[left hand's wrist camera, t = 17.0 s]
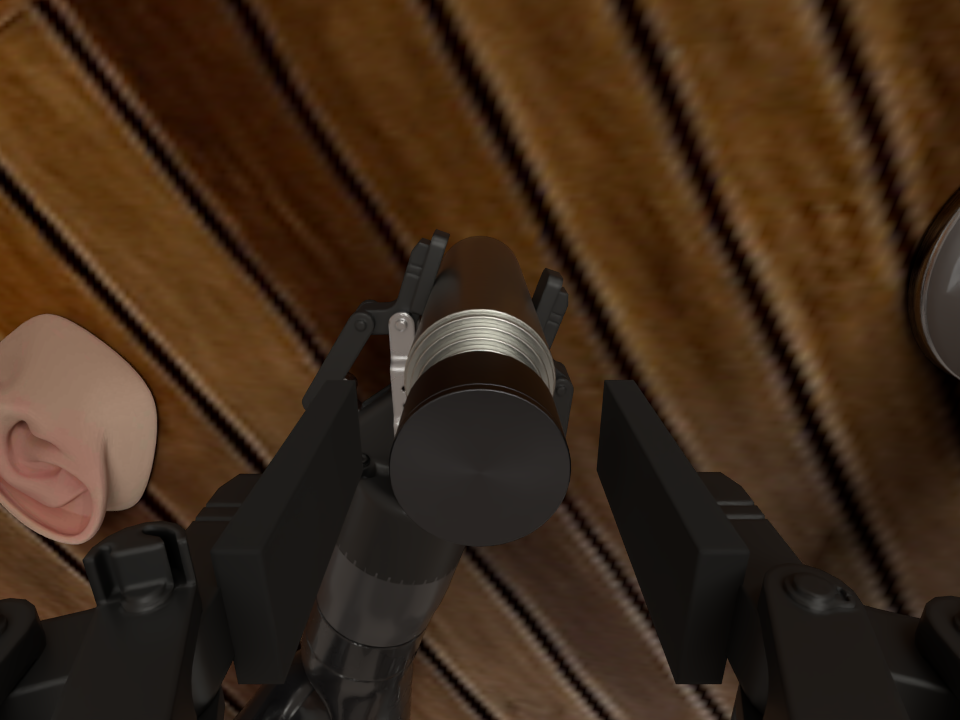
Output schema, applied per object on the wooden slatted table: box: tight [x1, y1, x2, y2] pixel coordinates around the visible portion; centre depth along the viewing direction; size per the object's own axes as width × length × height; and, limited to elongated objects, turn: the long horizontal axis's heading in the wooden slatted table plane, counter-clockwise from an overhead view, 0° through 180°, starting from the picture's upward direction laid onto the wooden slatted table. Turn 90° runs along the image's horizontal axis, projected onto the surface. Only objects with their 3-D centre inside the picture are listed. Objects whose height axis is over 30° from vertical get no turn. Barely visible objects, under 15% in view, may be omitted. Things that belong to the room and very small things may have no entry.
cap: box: [389, 351, 571, 546], centre depth 14 cm, size 4×4×2 cm
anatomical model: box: [0, 314, 157, 544], centre depth 34 cm, size 13×4×12 cm
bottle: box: [404, 236, 556, 397], centre depth 23 cm, size 5×5×21 cm
